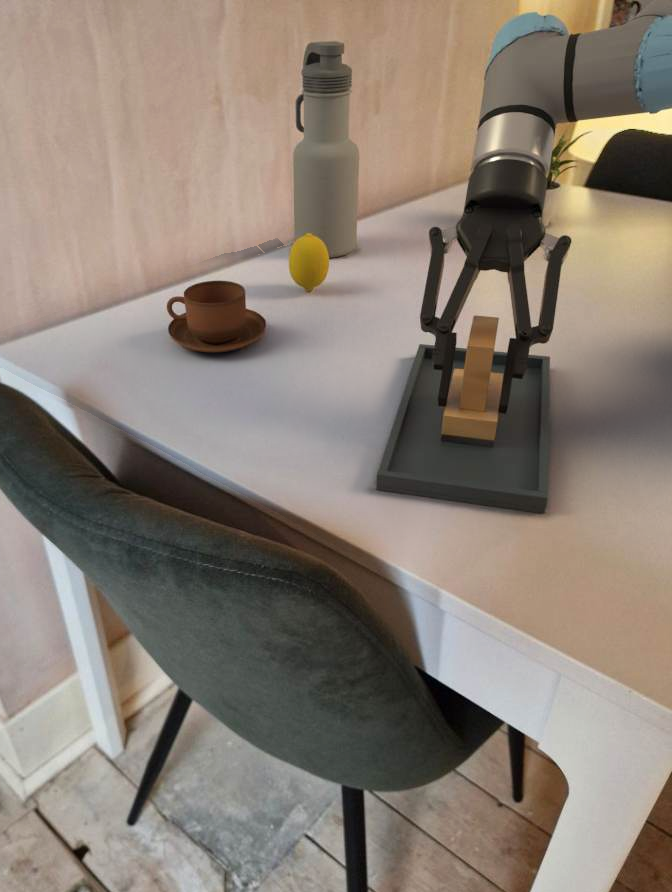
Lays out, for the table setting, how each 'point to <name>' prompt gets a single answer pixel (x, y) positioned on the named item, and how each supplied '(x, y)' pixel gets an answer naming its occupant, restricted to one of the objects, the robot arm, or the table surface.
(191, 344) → the cup and saucer
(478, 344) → the wooden block on base
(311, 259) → the lemon
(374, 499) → the table surface
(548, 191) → the house plant
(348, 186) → the water bottle
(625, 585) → the table surface
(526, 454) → the tray
